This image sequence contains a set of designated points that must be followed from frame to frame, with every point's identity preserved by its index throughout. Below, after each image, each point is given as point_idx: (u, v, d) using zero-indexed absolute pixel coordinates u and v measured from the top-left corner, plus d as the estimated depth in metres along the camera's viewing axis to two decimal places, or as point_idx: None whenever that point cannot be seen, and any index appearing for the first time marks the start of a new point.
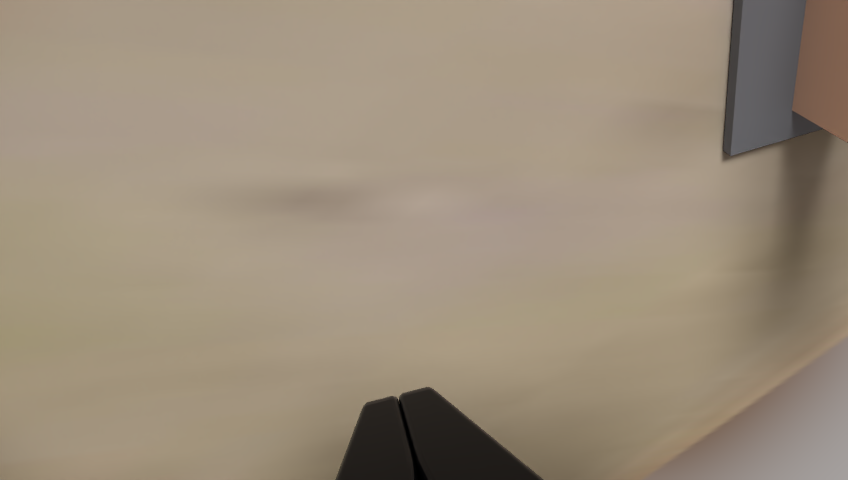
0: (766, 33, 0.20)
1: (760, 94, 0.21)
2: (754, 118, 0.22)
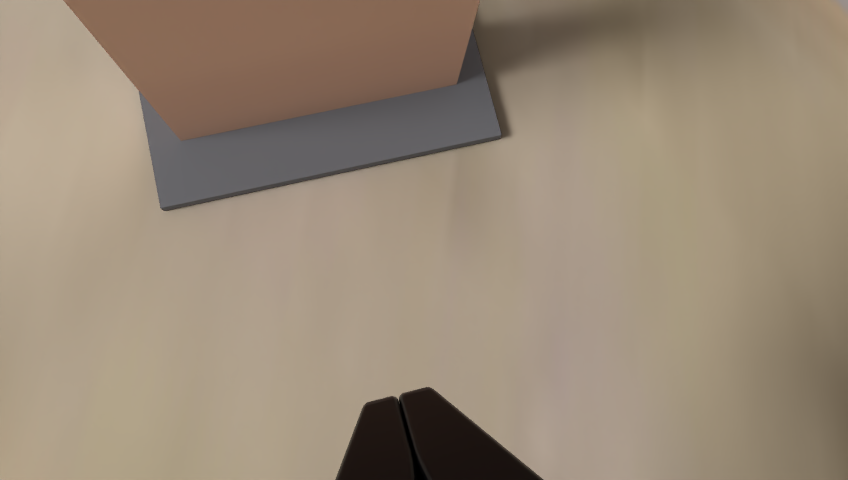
0: (382, 134, 0.23)
1: (439, 122, 0.23)
2: (463, 121, 0.23)
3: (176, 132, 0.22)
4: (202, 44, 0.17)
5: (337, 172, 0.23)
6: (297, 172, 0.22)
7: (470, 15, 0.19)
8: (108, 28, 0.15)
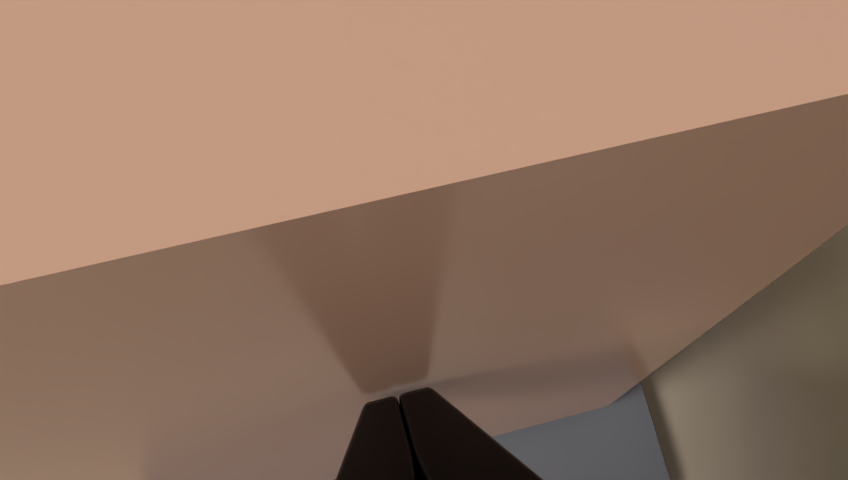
0: None
1: (579, 471, 0.15)
2: (614, 467, 0.15)
3: None
4: (211, 458, 0.09)
5: None
6: None
7: (671, 353, 0.11)
8: None
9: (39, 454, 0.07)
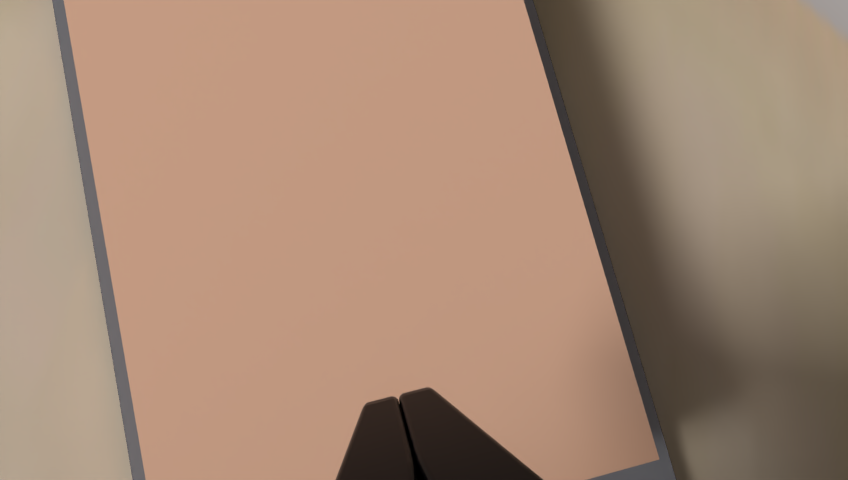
0: None
1: None
2: None
3: None
4: (220, 242, 0.13)
5: None
6: None
7: (580, 221, 0.14)
8: (118, 187, 0.13)
9: (144, 129, 0.14)
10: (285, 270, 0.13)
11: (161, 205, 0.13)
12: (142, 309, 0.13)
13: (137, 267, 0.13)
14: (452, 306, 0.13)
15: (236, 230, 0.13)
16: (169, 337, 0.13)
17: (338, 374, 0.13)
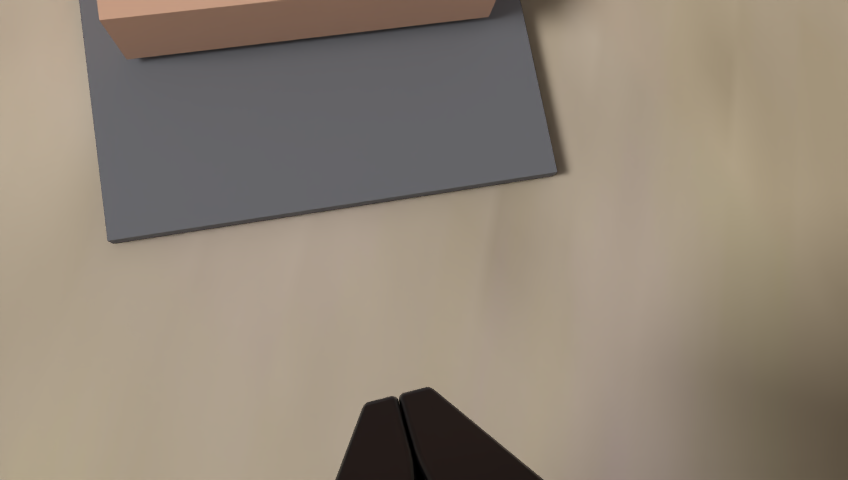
0: (406, 161, 0.18)
1: (479, 150, 0.18)
2: (510, 151, 0.18)
3: None
4: None
5: (344, 206, 0.18)
6: (293, 204, 0.17)
7: None
8: None
9: None
10: None
11: None
12: None
13: None
14: None
15: None
16: None
17: None
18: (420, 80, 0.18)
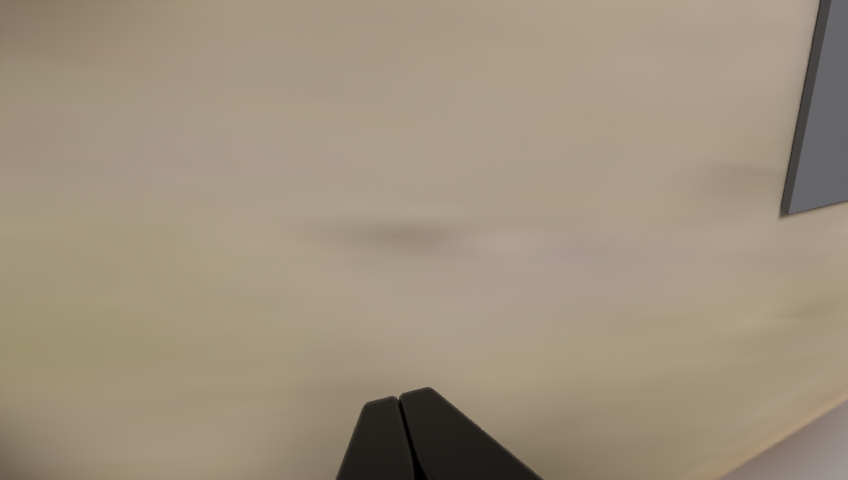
0: (833, 107, 0.22)
1: (821, 160, 0.23)
2: (813, 181, 0.24)
3: None
4: None
5: (814, 58, 0.21)
6: (833, 18, 0.20)
7: None
8: None
9: None
10: None
11: None
12: None
13: None
14: None
15: None
16: None
17: None
18: None
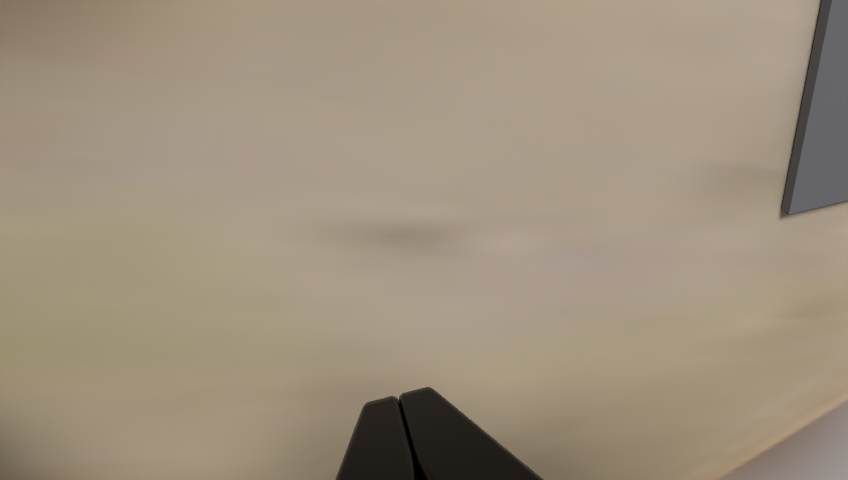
0: (833, 107, 0.22)
1: (822, 161, 0.23)
2: (814, 182, 0.24)
3: None
4: None
5: (814, 58, 0.21)
6: (834, 18, 0.20)
7: None
8: None
9: None
10: None
11: None
12: None
13: None
14: None
15: None
16: None
17: None
18: None
